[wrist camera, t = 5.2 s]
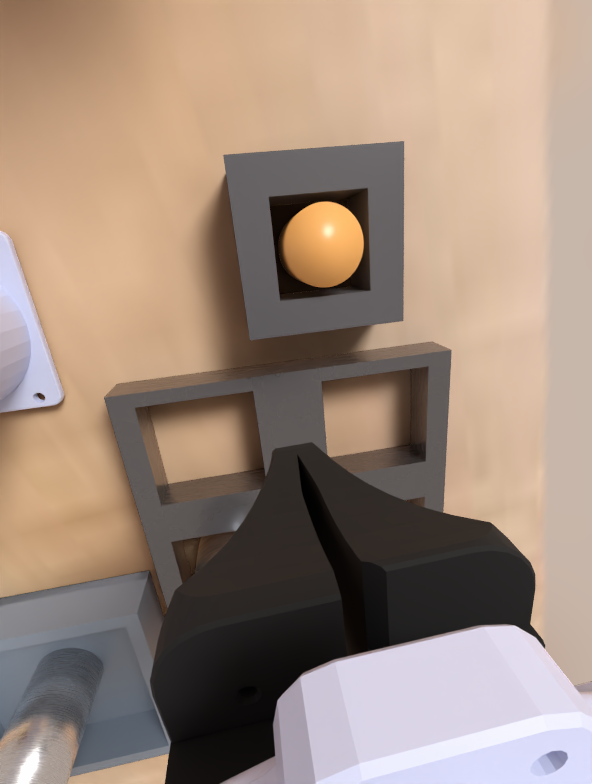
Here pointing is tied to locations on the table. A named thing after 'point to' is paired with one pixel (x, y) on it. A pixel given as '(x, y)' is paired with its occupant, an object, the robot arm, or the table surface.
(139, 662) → the tote
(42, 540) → the table surface
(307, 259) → the button
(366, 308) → the button housing
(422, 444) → the frame
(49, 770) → the billet
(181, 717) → the robot arm
